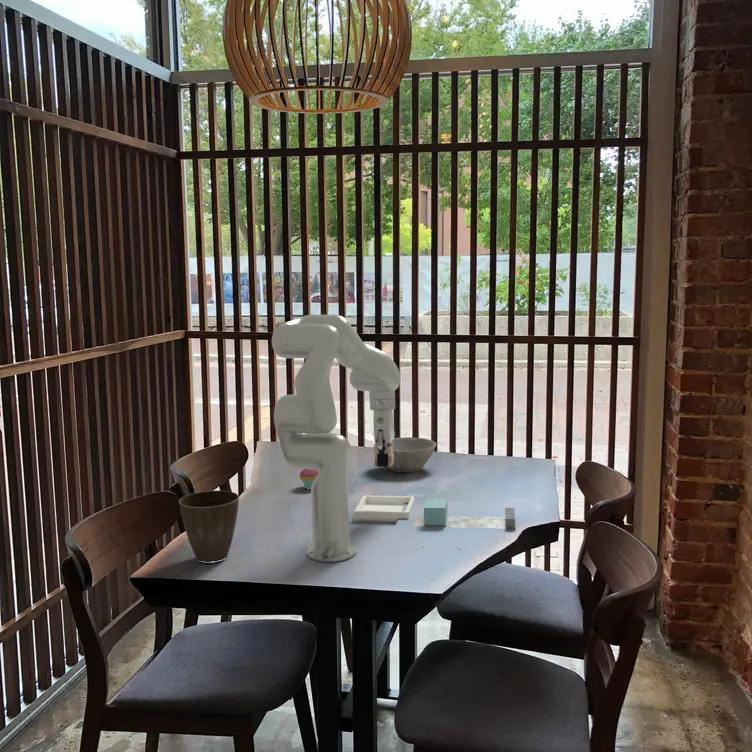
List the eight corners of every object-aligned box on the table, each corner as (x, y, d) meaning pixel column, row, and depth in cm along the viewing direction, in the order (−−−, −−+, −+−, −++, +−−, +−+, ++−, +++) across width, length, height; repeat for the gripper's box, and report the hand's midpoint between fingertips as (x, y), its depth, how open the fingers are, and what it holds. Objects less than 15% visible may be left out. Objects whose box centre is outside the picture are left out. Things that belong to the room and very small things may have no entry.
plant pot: (218, 544, 202) (214, 487, 200) (254, 556, 193) (251, 496, 191) (171, 561, 191) (166, 500, 189) (206, 574, 181) (203, 510, 179)
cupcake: (297, 486, 257) (295, 452, 256) (320, 483, 260) (319, 449, 259) (303, 492, 249) (302, 457, 248) (328, 489, 252) (326, 454, 251)
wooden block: (391, 466, 220) (390, 447, 219) (374, 466, 221) (374, 446, 220) (393, 462, 225) (393, 443, 224) (377, 462, 226) (376, 443, 225)
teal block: (445, 525, 208) (445, 508, 207) (424, 524, 209) (423, 507, 208) (447, 516, 216) (447, 499, 215) (426, 515, 216) (426, 499, 216)
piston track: (515, 533, 204) (515, 519, 203) (413, 530, 208) (412, 516, 208) (514, 521, 214) (514, 507, 213) (416, 519, 218) (416, 506, 218)
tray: (408, 522, 216) (408, 512, 215) (354, 521, 218) (354, 511, 218) (414, 505, 231) (414, 496, 231) (363, 504, 234) (363, 495, 233)
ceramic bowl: (375, 463, 286) (374, 438, 285) (435, 462, 285) (435, 436, 284) (373, 478, 264) (372, 451, 263) (438, 477, 263) (437, 449, 262)
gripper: (390, 409, 211) (392, 471, 214) (398, 399, 228) (400, 457, 231) (364, 409, 213) (367, 471, 215) (374, 399, 229) (376, 456, 232)
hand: (384, 463), depth 223 cm, fingers closed on wooden block, 5 cm apart
